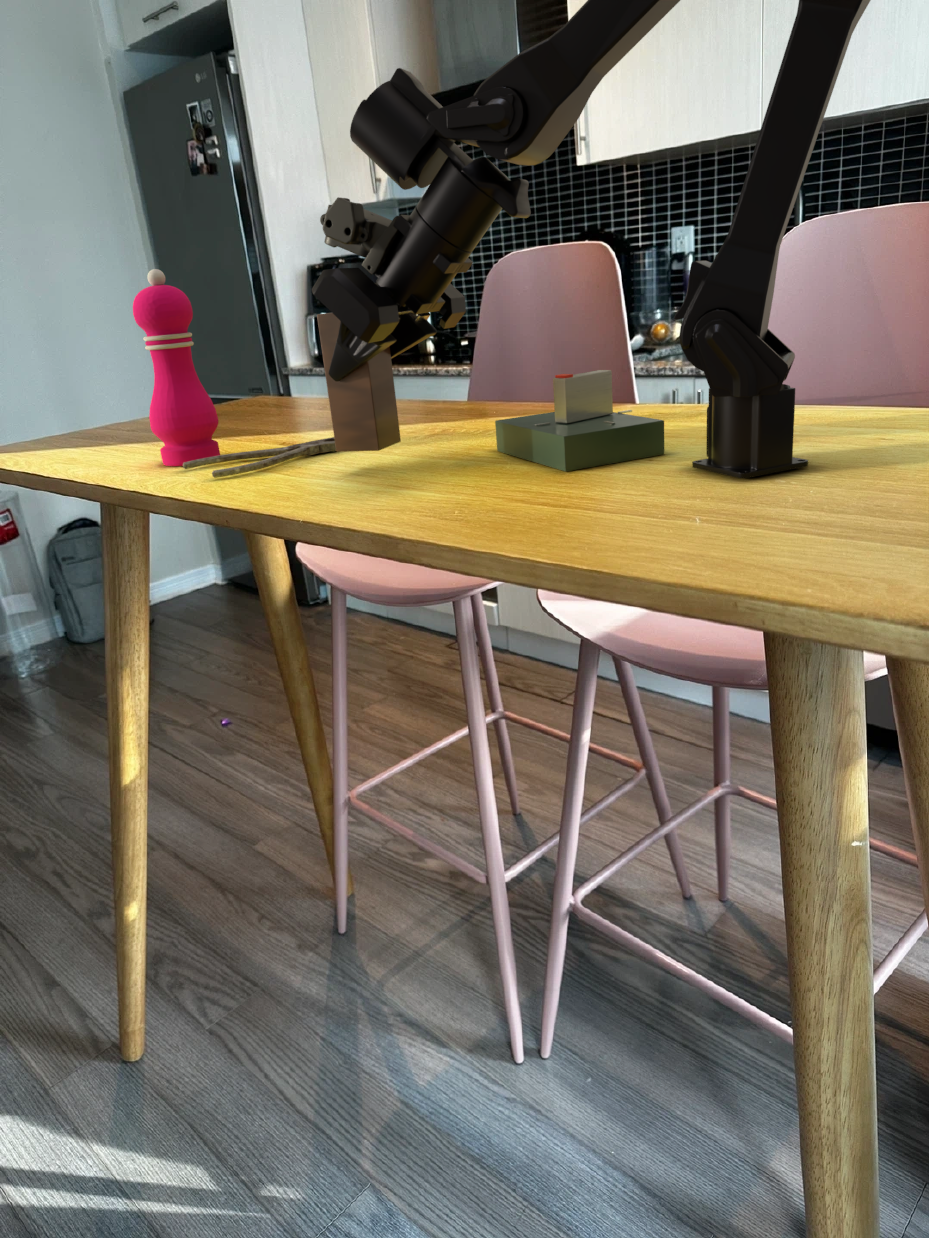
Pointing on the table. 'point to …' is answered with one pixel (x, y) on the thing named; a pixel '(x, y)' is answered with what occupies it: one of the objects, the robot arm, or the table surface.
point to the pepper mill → (175, 375)
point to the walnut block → (360, 397)
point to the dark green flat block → (580, 439)
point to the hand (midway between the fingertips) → (346, 374)
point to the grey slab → (582, 396)
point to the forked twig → (278, 454)
